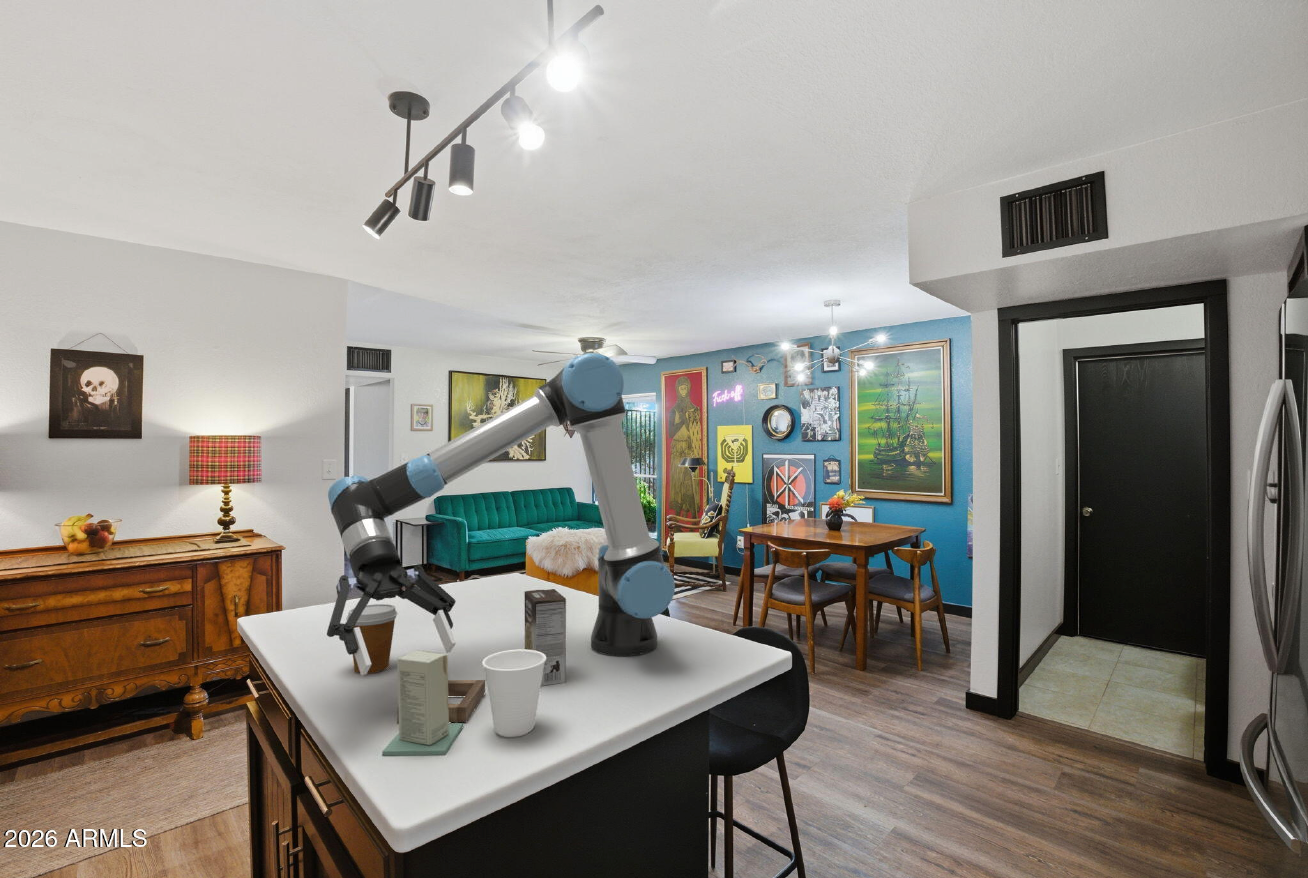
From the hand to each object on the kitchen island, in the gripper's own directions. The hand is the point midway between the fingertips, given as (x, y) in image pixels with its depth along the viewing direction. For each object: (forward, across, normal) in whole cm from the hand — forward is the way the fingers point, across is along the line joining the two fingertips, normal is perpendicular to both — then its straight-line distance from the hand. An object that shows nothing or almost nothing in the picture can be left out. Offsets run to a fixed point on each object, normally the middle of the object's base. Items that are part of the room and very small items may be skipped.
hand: (411, 658), depth 95 cm
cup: (+16, -12, -1) cm, 20 cm away
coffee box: (+6, -29, -11) cm, 31 cm away
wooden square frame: (+5, -8, -12) cm, 15 cm away
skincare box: (+11, 0, -5) cm, 12 cm away
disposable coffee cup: (-16, -8, -32) cm, 37 cm away
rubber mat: (+11, 0, -5) cm, 12 cm away
